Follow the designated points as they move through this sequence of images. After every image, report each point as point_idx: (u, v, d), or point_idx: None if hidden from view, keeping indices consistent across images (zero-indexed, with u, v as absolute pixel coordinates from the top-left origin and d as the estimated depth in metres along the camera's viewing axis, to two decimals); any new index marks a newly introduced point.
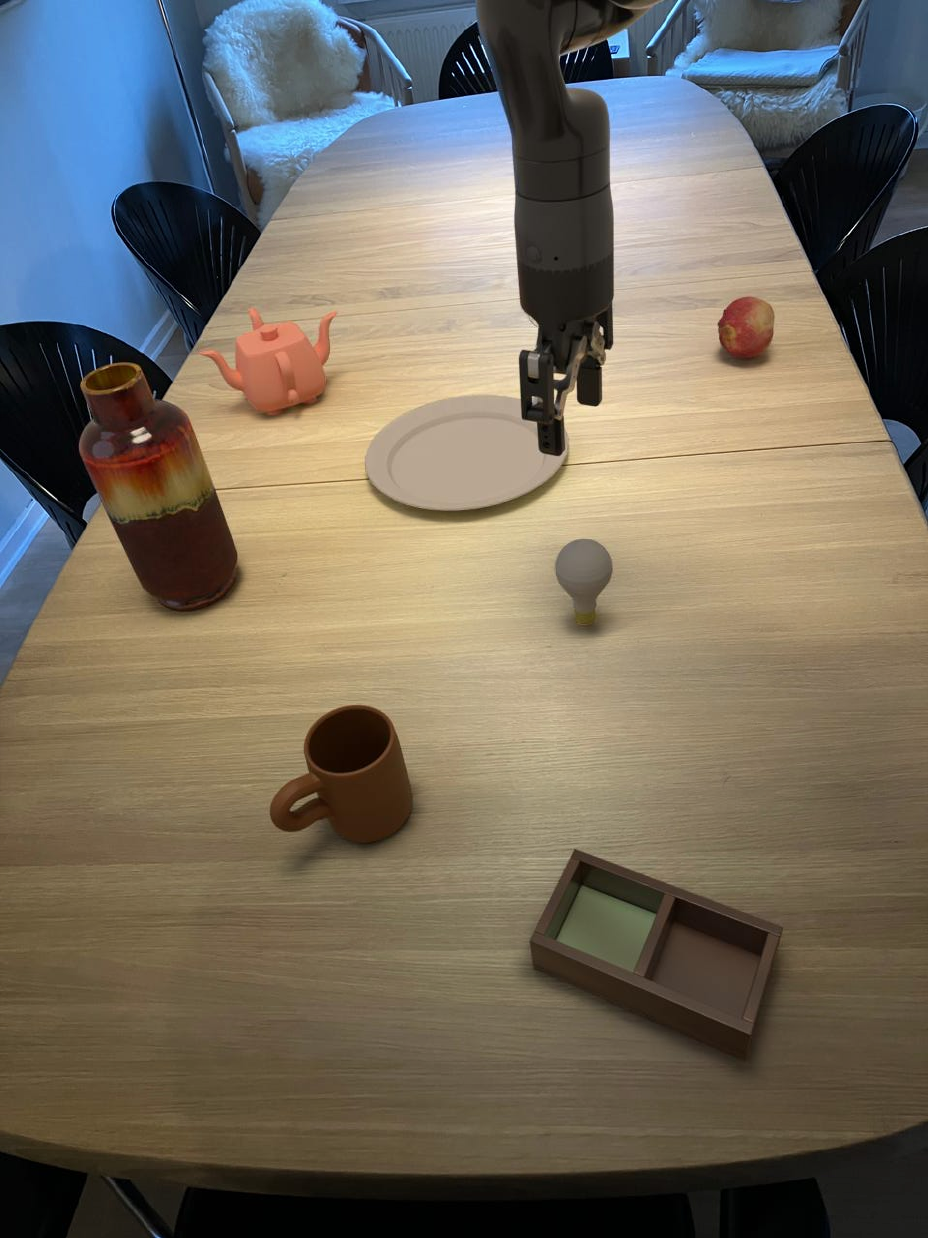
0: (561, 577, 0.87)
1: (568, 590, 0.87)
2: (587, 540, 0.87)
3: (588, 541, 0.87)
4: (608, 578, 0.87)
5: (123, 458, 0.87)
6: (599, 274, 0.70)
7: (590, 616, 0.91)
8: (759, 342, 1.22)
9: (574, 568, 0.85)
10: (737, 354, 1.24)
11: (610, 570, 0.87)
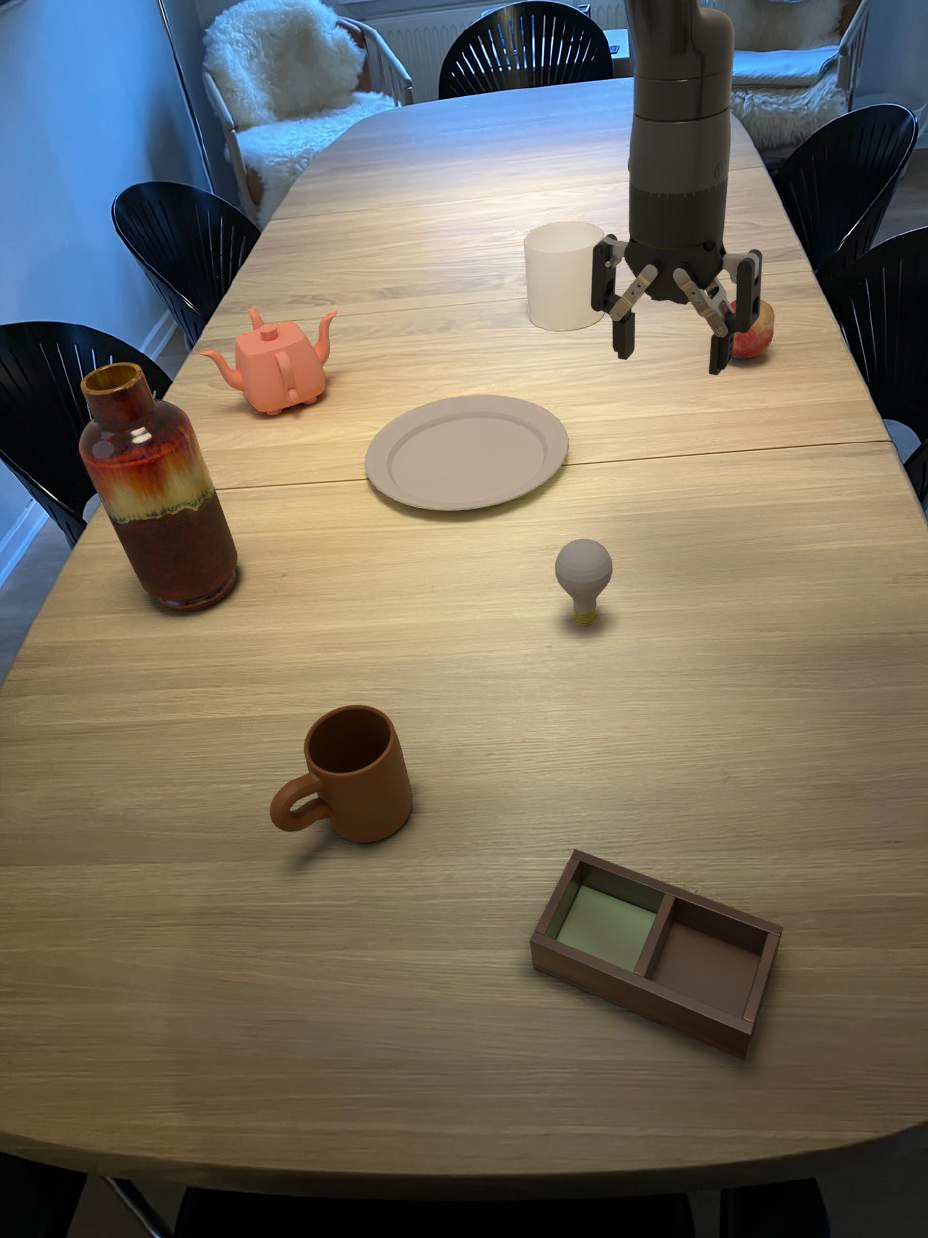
0: (561, 577, 0.87)
1: (568, 590, 0.87)
2: (587, 540, 0.87)
3: (588, 541, 0.87)
4: (608, 578, 0.87)
5: (123, 458, 0.87)
6: None
7: (590, 616, 0.91)
8: (759, 342, 1.22)
9: (574, 568, 0.85)
10: (737, 354, 1.24)
11: (610, 570, 0.87)
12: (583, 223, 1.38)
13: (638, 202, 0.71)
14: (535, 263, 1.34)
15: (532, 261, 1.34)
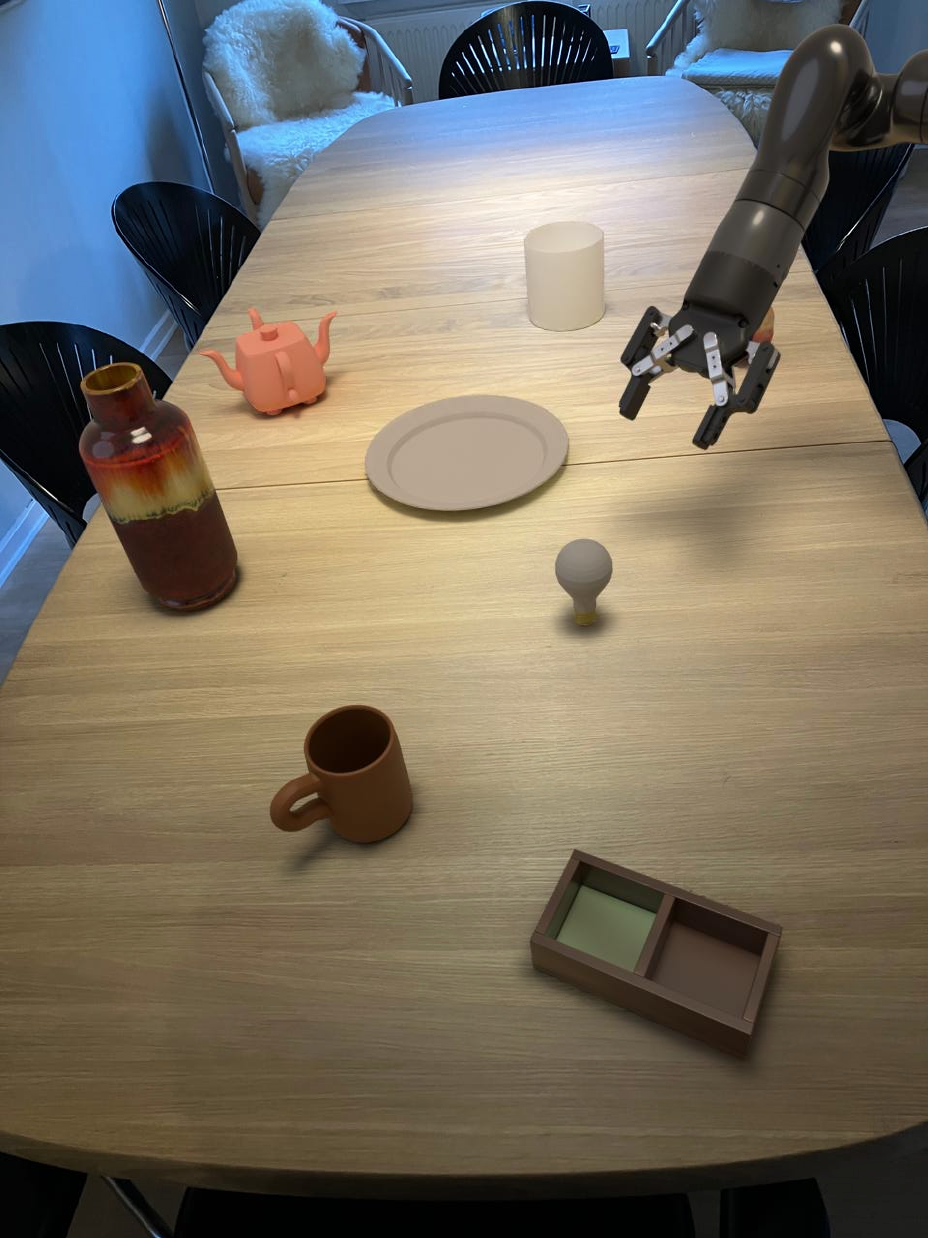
0: (561, 577, 0.87)
1: (568, 590, 0.87)
2: (587, 540, 0.87)
3: (588, 541, 0.87)
4: (608, 578, 0.87)
5: (123, 458, 0.87)
6: (708, 261, 0.82)
7: (590, 616, 0.91)
8: (759, 342, 1.22)
9: (574, 568, 0.85)
10: None
11: (610, 570, 0.87)
12: (583, 223, 1.38)
13: None
14: (535, 263, 1.34)
15: (532, 261, 1.34)
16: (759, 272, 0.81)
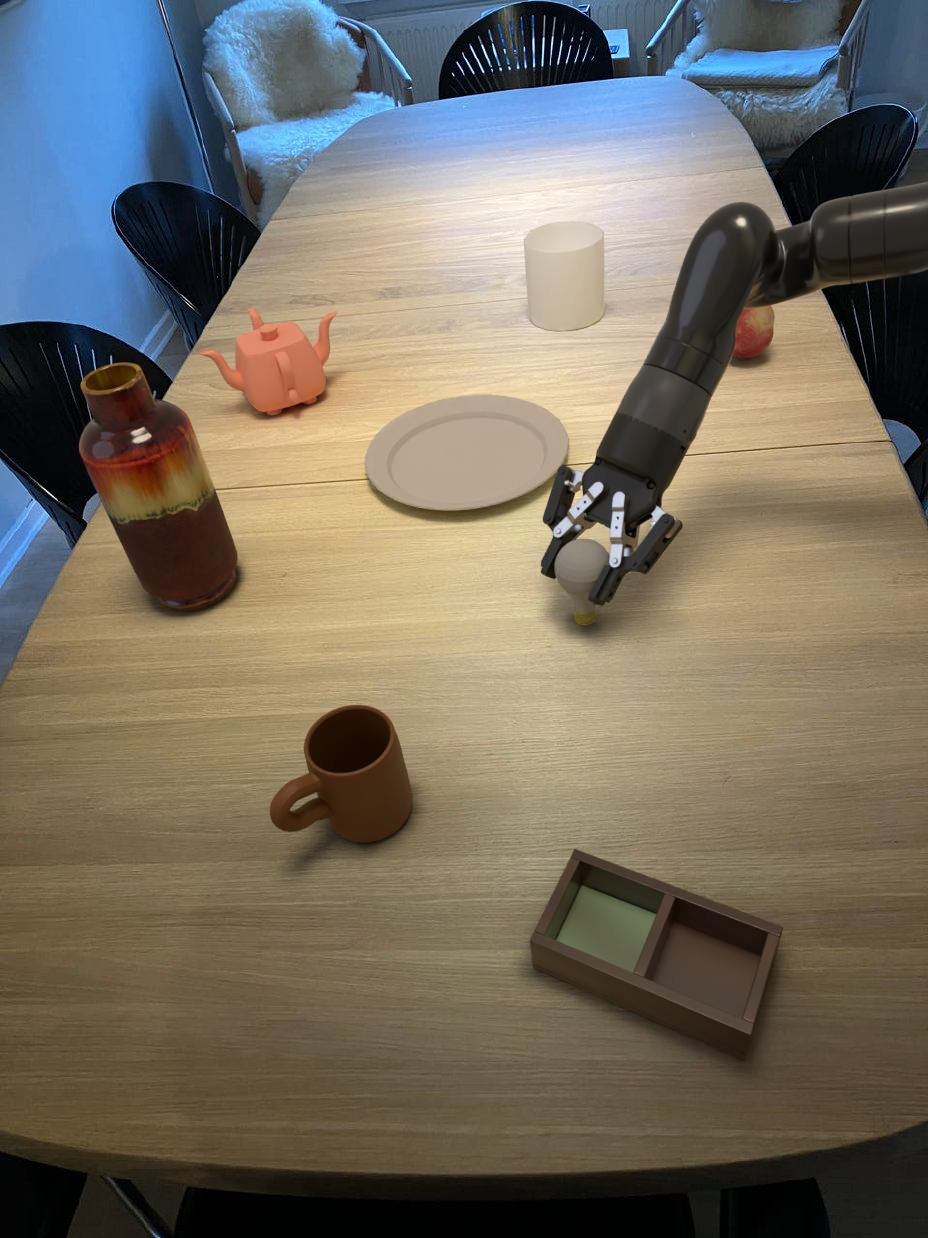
0: (561, 577, 0.87)
1: (568, 590, 0.87)
2: (586, 540, 0.87)
3: (587, 541, 0.87)
4: None
5: (123, 458, 0.87)
6: (617, 423, 0.84)
7: (590, 616, 0.91)
8: (759, 342, 1.22)
9: (573, 567, 0.85)
10: (737, 354, 1.24)
11: None
12: (583, 223, 1.38)
13: None
14: (535, 263, 1.34)
15: (532, 261, 1.34)
16: (665, 438, 0.82)
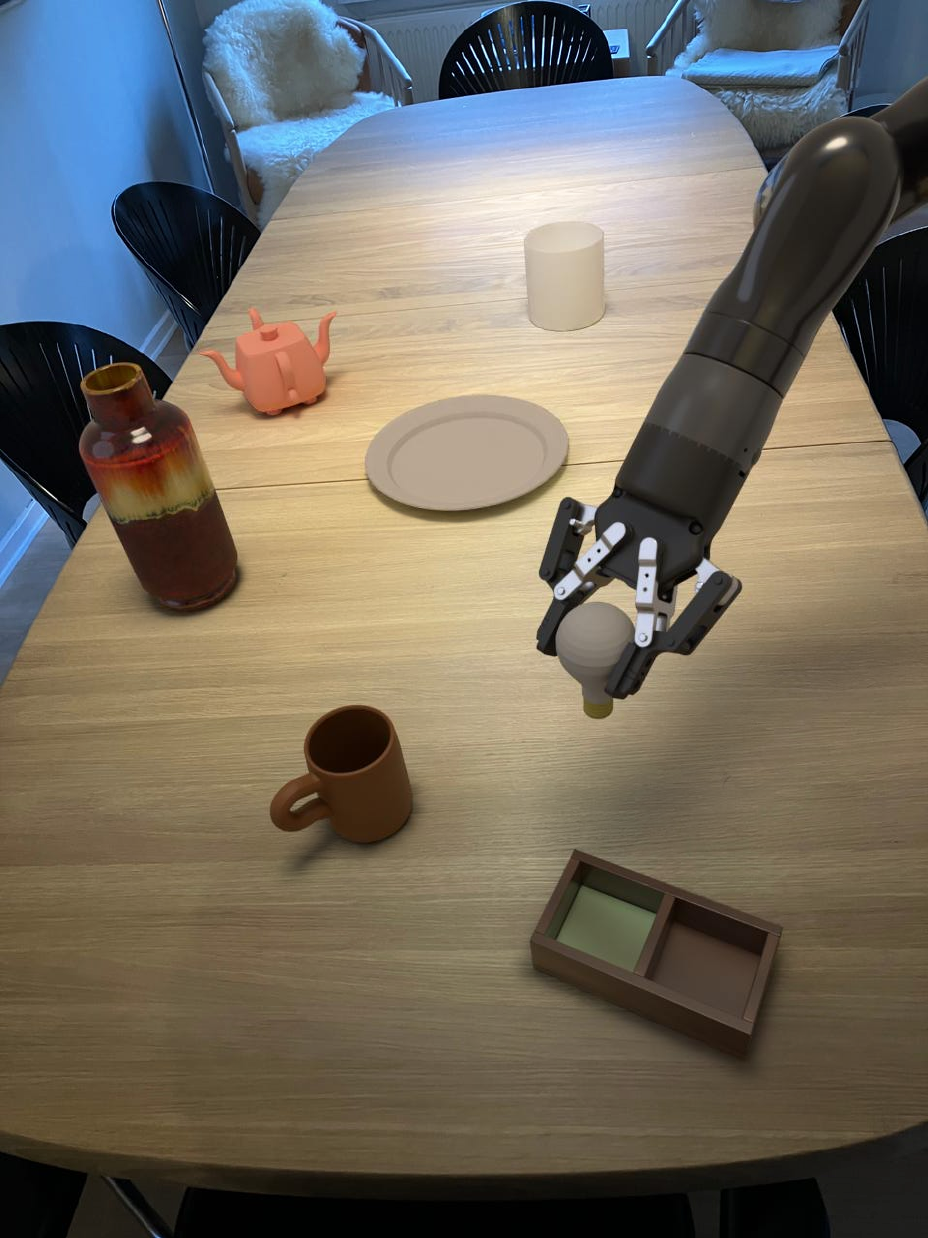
0: (565, 658, 0.61)
1: (575, 676, 0.61)
2: (601, 605, 0.61)
3: (603, 606, 0.61)
4: None
5: (123, 458, 0.87)
6: (647, 439, 0.58)
7: (605, 708, 0.65)
8: None
9: (583, 646, 0.59)
10: None
11: None
12: (583, 223, 1.38)
13: None
14: (535, 263, 1.34)
15: (532, 261, 1.34)
16: (717, 460, 0.56)
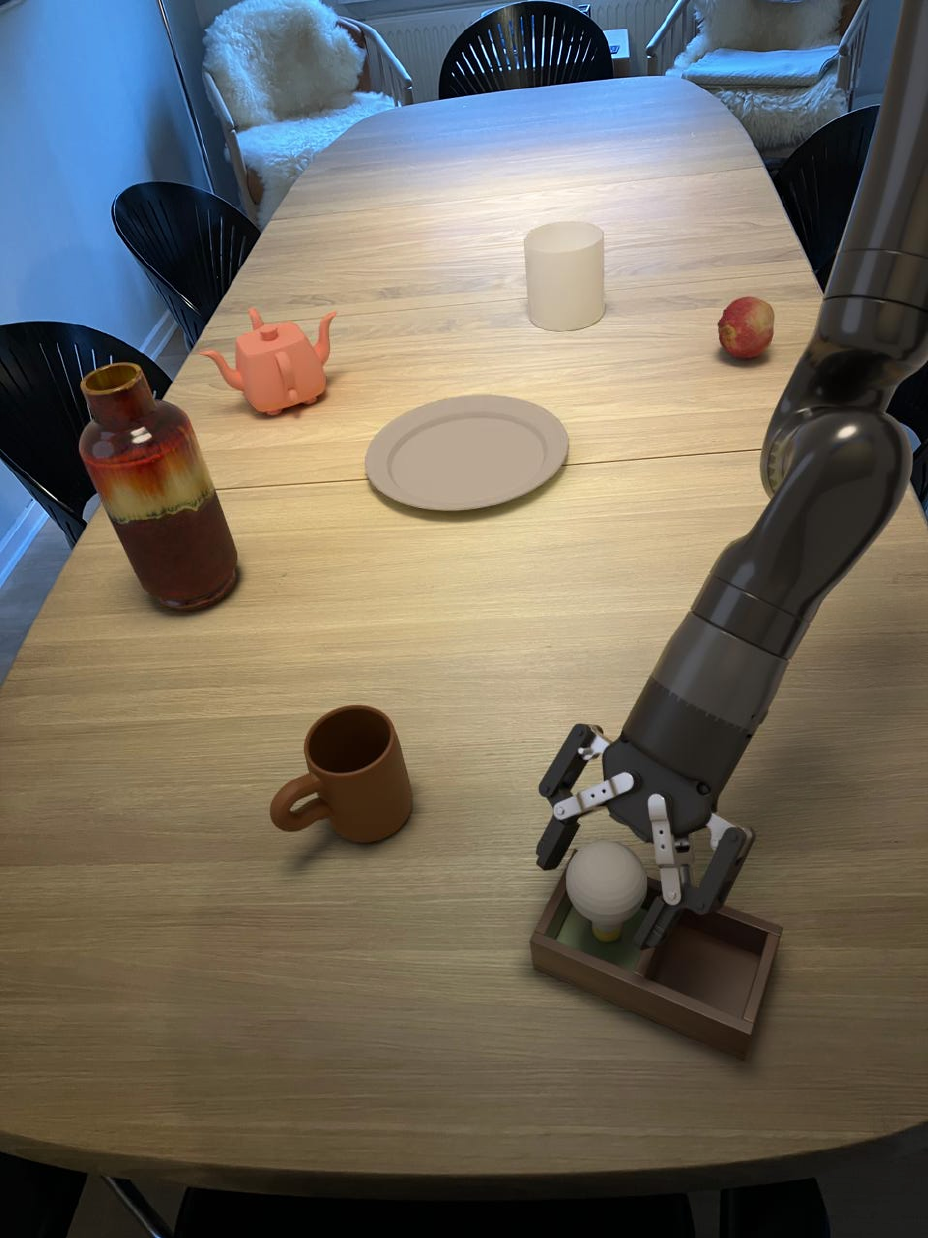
0: (576, 902, 0.61)
1: None
2: (611, 848, 0.62)
3: (613, 851, 0.61)
4: (641, 903, 0.61)
5: (123, 458, 0.87)
6: (655, 700, 0.58)
7: (614, 933, 0.66)
8: (759, 342, 1.22)
9: (593, 895, 0.60)
10: (737, 354, 1.24)
11: (645, 891, 0.61)
12: (583, 223, 1.38)
13: None
14: (535, 263, 1.34)
15: (532, 261, 1.34)
16: (725, 729, 0.56)
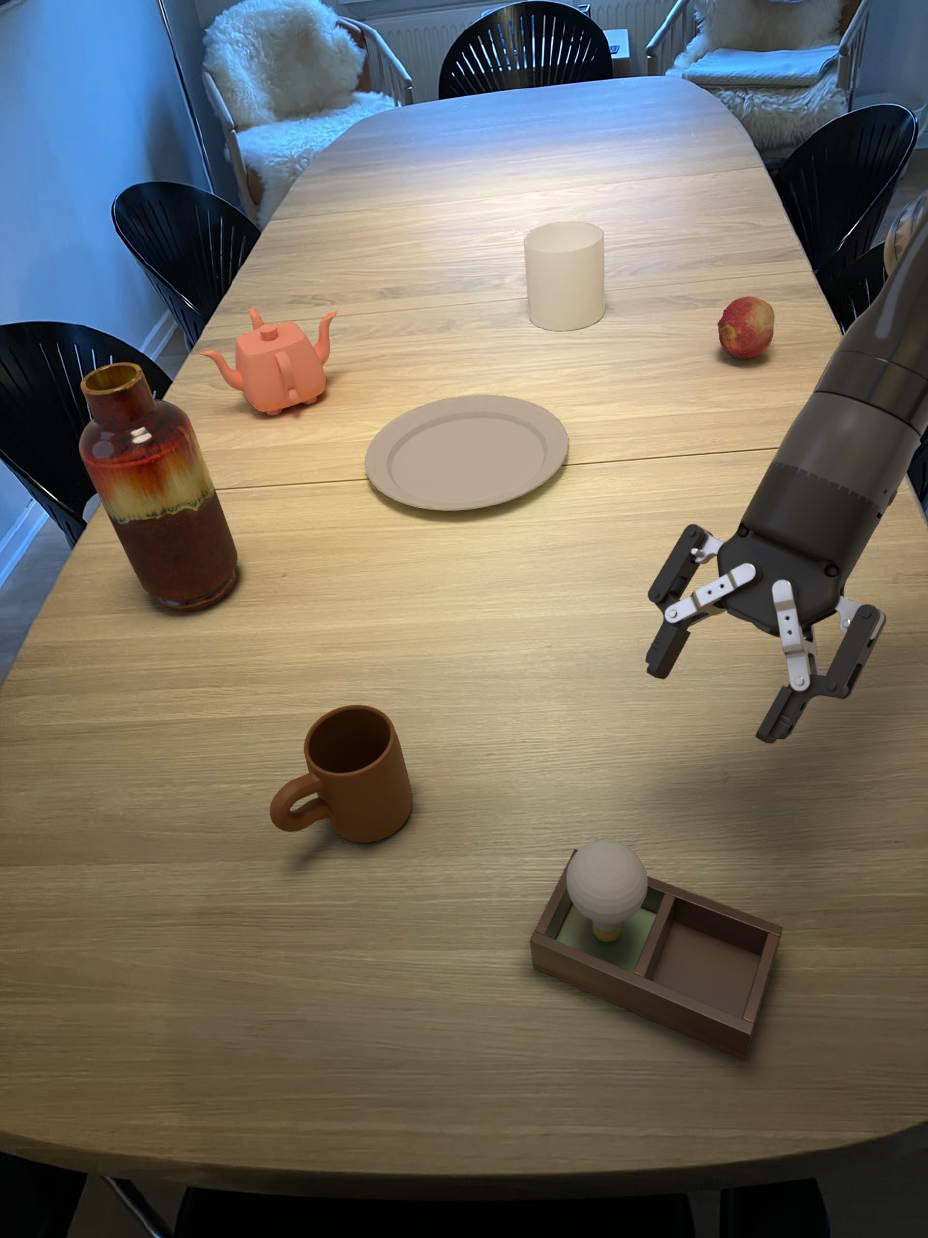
0: (576, 901, 0.61)
1: None
2: (612, 848, 0.62)
3: (614, 850, 0.61)
4: (642, 902, 0.61)
5: (123, 458, 0.87)
6: (781, 480, 0.56)
7: (614, 933, 0.66)
8: (759, 342, 1.22)
9: (594, 894, 0.60)
10: (737, 354, 1.24)
11: (645, 891, 0.61)
12: (583, 223, 1.38)
13: None
14: (535, 263, 1.34)
15: (532, 261, 1.34)
16: (858, 503, 0.55)
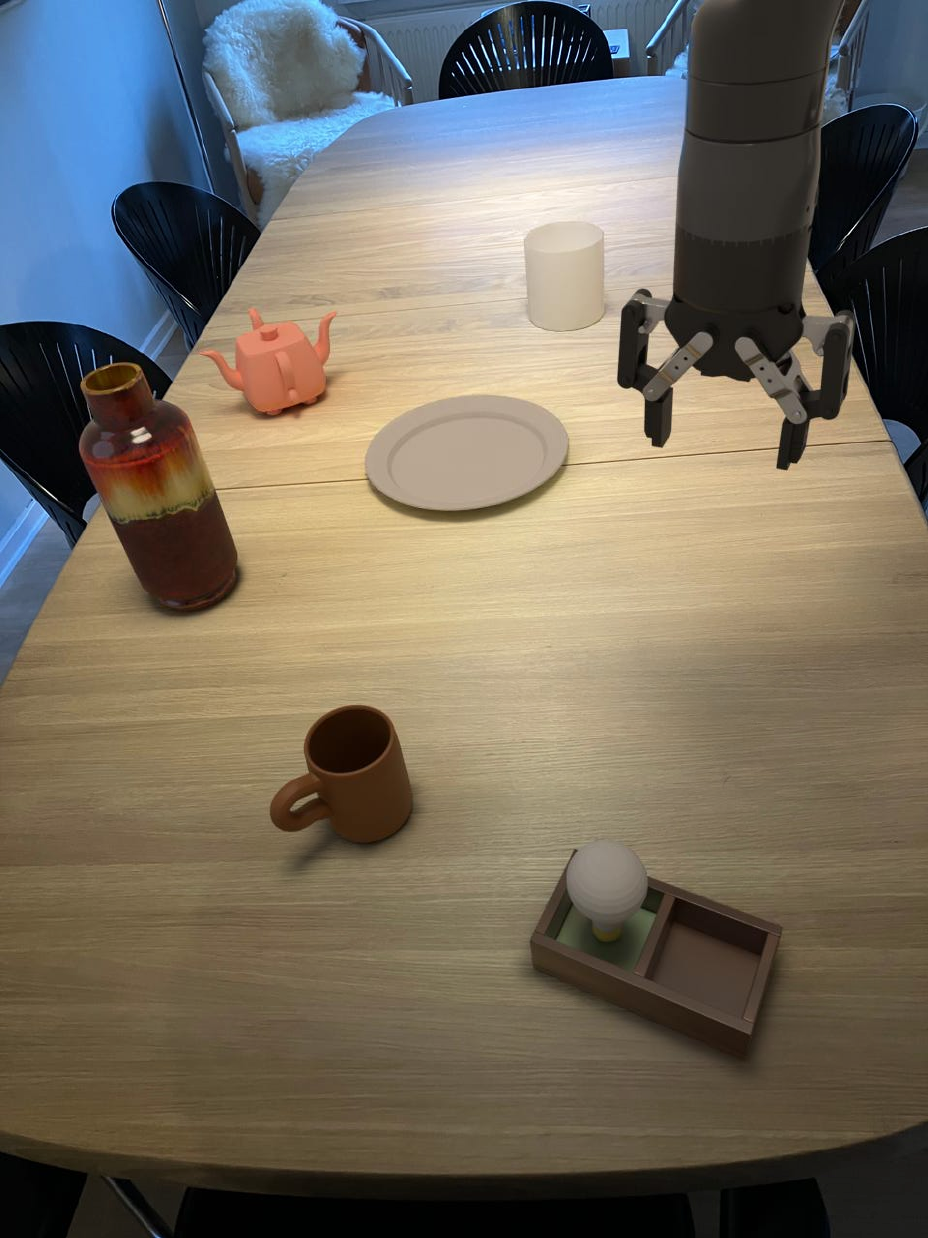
0: (576, 901, 0.61)
1: None
2: (612, 848, 0.62)
3: (614, 850, 0.61)
4: (642, 902, 0.61)
5: (123, 458, 0.87)
6: (698, 254, 0.51)
7: (614, 933, 0.66)
8: None
9: (594, 894, 0.60)
10: None
11: (645, 891, 0.61)
12: (583, 223, 1.38)
13: None
14: (535, 263, 1.34)
15: (532, 261, 1.34)
16: (786, 243, 0.50)
